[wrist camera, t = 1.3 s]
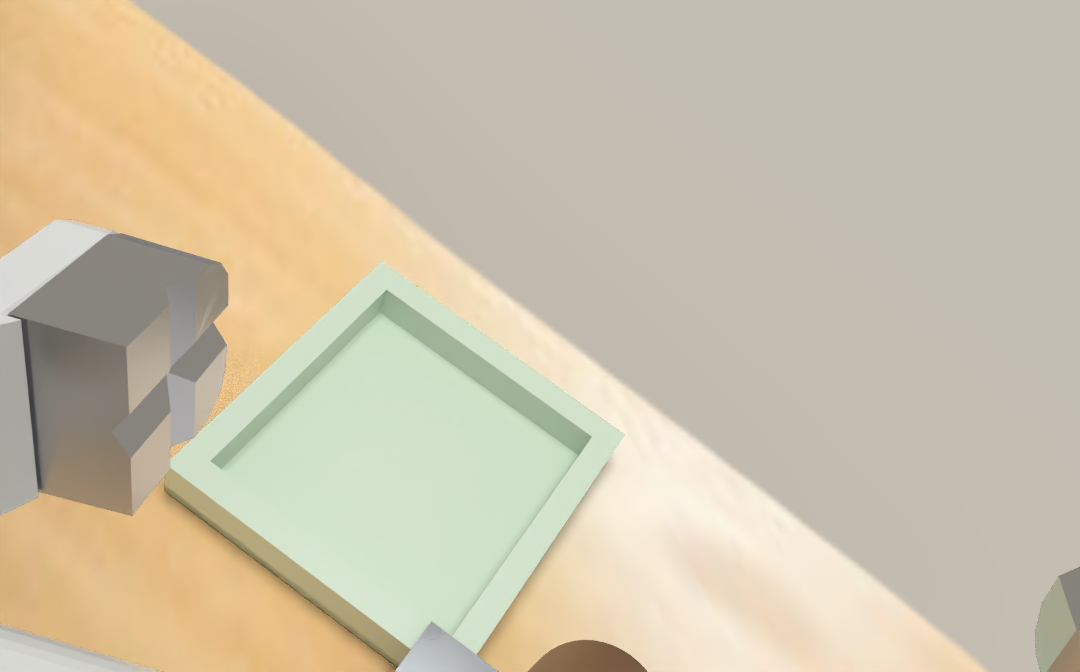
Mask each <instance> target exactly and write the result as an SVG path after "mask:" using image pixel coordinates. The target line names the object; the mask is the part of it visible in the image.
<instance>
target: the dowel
mask: <svg viewBox="0 0 1080 672" xmlns="http://www.w3.org/2000/svg"><path fill="white" fill-rule="evenodd" d="M528 672H647V671H646V669H645V668H644V667H643V666H642V665H641V664H640V663H639V662H638V661H637V660H636V659H634V658H633V657H632V656H631V655H629V654H628V653H626V652H625V651H623V650H621V649H619V648H617V647H615V646H613V645H610V644H607V643H604V642H599V641H593V640H579V641H573V642H568V643H565V644H562V645H560V646H558V647H556V648H554V649H552V650H550V651H549V652H548V653H547V654H545V655H544V656H543V657H542V658H541V659H540V660H539V661H538V662H537V663H536V664H535V665H534V666H533V667H532V668H531V669H530V670H529V671H528Z"/></svg>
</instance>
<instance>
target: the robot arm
mask: <svg viewBox="0 0 1080 672" xmlns="http://www.w3.org/2000/svg"><path fill="white" fill-rule="evenodd" d="M227 306H228V273H227V272H226V270H225V269H224V267H223V266H222V264H221V263H220V262H216V261H213V260H210V259H206V258H203V257H200V256H196V255H193V254H189V253H186V252H183V251H179V250H176V249H173V248H169V247H166V246H162V245H159V244H156V243H152V242H149V241H146V240H142V239H139V238H135V237H132V236H129V235H125V234H122V233H121V234H118V233H116V232H115V231H113V230H109V229H105V228H101V227H98V226H94V225H90V224H86V223H82V222H79V221H75V220H71V219H56V220H54V221H53V222H51V223H50V224H48V225H47V226H46V227H44V228H43V229H41V230H40V231H39V232H37V233H36V234H34V235H33V236H32V237H30V238H29V239H27V240H26V241H24V242H23V243H22V244H20V245H19V246H17V247H16V248H15V249H13V250H12V251H10V252H9V253H8V254H6V255H5V256H3V257H2V258H1V259H0V515H2V514H4V513H6V512H8V511H11V510H13V509H15V508H17V507H19V506H21V505H23V504H25V503H27V502H29V501H31V500H33V499H35V498H37V497H38V496H39V492H41V493H45V494H49V495H53V496H57V497H61V498H65V499H69V500H72V501H76V502H80V503H84V504H88V505H92V506H96V507H99V508H103V509H107V510H111V511H115V512H119V513H123V514H126V515H130V516H133V514H134V513H135V512H136V511H137V509H138V508H139V507H140V506H141V504H142V503H143V502H144V501H145V499H146V498H147V497H148V496H149V494H150V493H151V492H152V490H153V489H154V488H155V487H156V485H157V484H158V483H159V482H160V480H161V479H162V478H163V477H164V475H165V474H166V473H167V472H168V470H169V469H170V446H173V445H176V444H178V443H181V442H184V441H186V440H189V439H192V438H194V437H195V436H196V434H197V433H198V432H199V430H200V429H201V428H202V426H203V425H204V424H205V422H206V421H207V420H208V418H209V416H210V414H211V412H212V409H213V407H214V405H215V403H216V400H217V398H218V396H219V393H220V391H221V387H222V382H223V378H224V373H225V368H226V352H227V344H226V343H225V341H224V339H223V338H222V336H221V335H220V333H219V331H218V330H217V328H216V327H215V325H214V323H213V322H214V320H215V319H216V318H217V317H218V316H219V315H220V314H221V313H222V311H223V310H224V309H225V308H226V307H227ZM1035 648H1036V657H1037V661H1038V665H1039V669H1040V672H1080V567H1078V568H1076V569H1074V570H1072V571H1069V572H1067V573H1065V574H1062V575H1060V576H1058V578H1057V580H1056V581H1055V583H1054V584H1053V586H1052V588H1051V589H1050V591H1049V592H1048V594H1047V596H1046V597H1045V599H1044V600H1043V602H1042V605H1041V609H1040V613H1039V617H1038V621H1037V625H1036V629H1035ZM0 672H162V671H159V670H156V669H152V668H149V667H145V666H142V665H139V664H135V663H132V662H129V661H125V660H122V659H118V658H115V657H112V656H108V655H105V654H102V653H98V652H95V651H91V650H88V649H85V648H81V647H78V646H74V645H71V644H68V643H64V642H61V641H58V640H54V639H51V638H47V637H44V636H41V635H37V634H34V633H31V632H27V631H24V630H20V629H17V628H14V627H10V626H7V625H3V624H0Z"/></svg>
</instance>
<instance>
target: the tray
mask: <svg viewBox="0 0 1080 672" xmlns="http://www.w3.org/2000/svg"><path fill="white" fill-rule="evenodd" d="M624 435H625V434H623V433H622V432H620V431H619V430H618V429H616V428H615V427H613V426H612V425H611V424H609V423H608V422H606V421H605V420H604V419H602V418H601V417H599V416H598V415H597V414H595V413H594V412H592V411H591V410H590V409H588V408H587V407H585V406H584V405H583V404H581V403H580V402H578V401H577V400H576V399H574V398H573V397H571V396H570V395H569V394H567V393H566V392H564V391H563V390H562V389H560V388H559V387H557V386H556V385H555V384H553V383H552V382H550V381H549V380H548V379H546V378H545V377H543V376H542V375H541V374H539V373H538V372H536V371H535V370H534V369H532V368H531V367H529V366H528V365H526V364H525V363H524V362H522V361H521V360H519V359H518V358H517V357H515V356H514V355H512V354H511V353H510V352H508V351H507V350H505V349H504V348H503V347H501V346H500V345H498V344H497V343H496V342H494V341H493V340H491V339H490V338H489V337H487V336H486V335H484V334H483V333H482V332H480V331H479V330H477V329H476V328H475V327H473V326H472V325H470V324H469V323H468V322H466V321H465V320H463V319H462V318H461V317H459V316H458V315H456V314H455V313H454V312H452V311H451V310H449V309H448V308H447V307H445V306H444V305H442V304H441V303H440V302H438V301H437V300H435V299H434V298H433V297H431V296H430V295H428V294H427V293H426V292H424V291H423V290H421V289H420V288H419V287H417V286H416V285H414V284H413V283H412V282H410V281H409V280H407V279H406V278H405V277H403V276H402V275H400V274H399V273H398V272H396V271H395V270H393V269H392V268H391V267H389V266H388V265H386V264H385V263H384V262H382V261H381V262H380V263H379V264H378V265H377V266H376V267H375V268H374V269H373V270H372V271H371V272H370V273H368V274H367V275H366V276H365V277H364V278H363V279H362V280H361V281H360V282H359V283H358V284H357V285H356V286H355V287H354V288H352V289H351V290H350V291H349V292H348V293H347V294H346V295H345V296H344V297H343V298H342V299H341V300H340V301H339V302H338V303H336V304H335V305H334V306H333V307H332V308H331V309H330V310H329V311H328V312H327V313H326V314H325V315H324V316H323V317H322V318H320V319H319V320H318V321H317V322H316V323H315V324H314V325H313V326H312V327H311V328H310V329H309V330H308V331H307V332H306V333H305V334H303V335H302V336H301V337H300V338H299V339H298V340H297V341H296V342H295V343H294V344H293V345H292V346H291V347H290V348H289V349H287V350H286V351H285V352H284V353H283V354H282V355H281V356H280V357H279V358H278V359H277V360H276V361H275V362H274V363H273V364H271V365H270V366H269V367H268V368H267V369H266V370H265V371H264V372H263V373H262V374H261V375H260V376H259V377H258V378H257V379H255V380H254V381H253V382H252V383H251V384H250V385H249V386H248V387H247V388H246V389H245V390H244V391H243V392H242V393H241V394H240V395H238V396H237V397H236V398H235V399H234V400H233V401H232V402H231V403H230V404H229V405H228V406H227V407H226V408H225V409H224V410H222V411H221V412H220V413H219V414H218V415H217V416H216V417H215V418H214V419H213V420H212V421H211V422H210V423H209V424H208V425H206V426H205V427H204V428H203V429H202V430H201V431H200V432H199V433H198V434H197V435H196V436H195V437H194V438H193V439H192V440H190V441H189V442H188V443H187V444H186V445H185V446H184V447H183V448H182V449H181V450H180V451H179V452H178V453H177V454H176V455H175V456H173V457H172V458H171V459H170V469H169V470H168V472H167V473H166V474H165V492H167V493H168V494H169V495H171V496H172V497H173V498H175V499H176V500H177V501H179V502H180V503H181V504H183V505H184V506H185V507H187V508H188V509H189V510H191V511H192V512H193V513H194V514H196V515H197V516H198V517H200V518H201V519H202V520H204V521H205V522H206V523H208V524H209V525H210V526H212V527H213V528H214V529H216V530H217V531H218V532H219V533H221V534H222V535H223V536H225V537H226V538H227V539H229V540H230V541H231V542H233V543H234V544H235V545H237V546H238V547H239V548H241V549H242V550H243V551H245V552H246V553H247V554H248V555H250V556H251V557H252V558H254V559H255V560H256V561H258V562H259V563H260V564H262V565H263V566H264V567H266V568H267V569H268V570H270V571H271V572H272V573H274V574H275V575H276V576H277V577H279V578H280V579H281V580H283V581H284V582H285V583H287V584H288V585H289V586H291V587H292V588H293V589H295V590H296V591H297V592H299V593H300V594H301V595H303V596H304V597H305V598H306V599H308V600H309V601H310V602H312V603H313V604H314V605H316V606H317V607H318V608H320V609H321V610H322V611H324V612H325V613H326V614H328V615H329V616H330V617H332V618H333V619H334V620H335V621H337V622H338V623H339V624H341V625H342V626H343V627H345V628H346V629H347V630H349V631H350V632H351V633H353V634H354V635H355V636H357V637H358V638H359V639H361V640H362V641H363V642H364V643H366V644H367V645H368V646H370V647H371V648H372V649H374V650H375V651H376V652H378V653H379V654H380V655H382V656H383V657H384V658H386V659H387V660H388V661H389V662H391V663H392V664H393V665H395V666H396V667H397V668H398V666H399V665H400V664H401V662H402V661H403V660H404V658H405V657H406V655H407V654H408V653H409V651H410V650H411V649H412V647H413V646H414V644H415V643H416V642H417V640H418V639H419V638H420V636H421V635H422V633H423V632H424V631H425V629H426V628H427V627H428V625H429V624H430V622H431V621H432V622H433V623H435V624H436V625H437V626H439V627H440V628H441V629H443V630H444V631H445V632H447V633H448V634H449V635H451V636H452V637H453V638H455V639H456V640H457V641H459V642H460V643H461V644H463V645H464V646H465V647H467V648H468V649H469V650H471V651H472V652H473V653H475V654H476V655H477V654H478V652H479V651H480V649H481V648H482V646H483V645H484V643H485V642H486V640H487V639H488V637H489V636H490V634H491V633H492V631H493V630H494V628H495V627H496V625H497V624H498V622H499V621H500V619H501V618H502V616H503V615H504V613H505V612H506V610H507V609H508V607H509V606H510V604H511V603H512V602H513V600H514V599H515V597H516V596H517V594H518V593H519V591H520V590H521V588H522V587H523V585H524V584H525V582H526V581H527V579H528V578H529V576H530V575H531V573H532V572H533V570H534V569H535V567H536V566H537V564H538V563H539V561H540V560H541V558H542V557H543V555H544V554H545V552H546V551H547V550H548V548H549V547H550V545H551V544H552V542H553V541H554V539H555V538H556V536H557V535H558V533H559V532H560V530H561V529H562V527H563V526H564V524H565V523H566V521H567V520H568V518H569V517H570V515H571V514H572V512H573V511H574V509H575V508H576V506H577V505H578V503H579V502H580V500H581V499H582V498H583V496H584V495H585V493H586V492H587V490H588V489H589V487H590V486H591V484H592V483H593V481H594V480H595V478H596V477H597V475H598V474H599V472H600V471H601V469H602V468H603V466H604V465H605V463H606V462H607V460H608V459H609V457H610V456H611V454H612V453H613V451H614V450H615V448H616V447H617V446H618V444H619V443H620V441H621V440H622V438H623V437H624Z"/></svg>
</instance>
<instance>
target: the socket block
mask: <svg viewBox="0 0 1080 672" xmlns="http://www.w3.org/2000/svg"><path fill="white" fill-rule="evenodd" d="M395 672H499V671H497V670H496V669H495V668H493V667H492V666H491V665H489V664H488V663H487V662H485V661H484V660H483V659H481V658H480V657H479V656H477V655H476V654H475V653H473V652H472V651H471V650H469V649H468V648H467V647H465V646H464V645H463V644H461V643H460V642H459V641H457V640H456V639H455V638H453V637H452V636H451V635H449V634H448V633H447V632H445V631H444V630H443V629H441V628H440V627H439V626H437V625H436V624H435V623H433V622H432V621H431V622H430V624H429V625H428V627H427V628H426V629H425V631H424V632H423V633H422V635H421V636H420V638H419V639H418V640H417V642H416V643H415V644H414V646H413V647H412V649H411V650H410V651H409V653H408V654H407V655H406V657H405V658H404V660H403V661H402V662H401V664H400V665H399V666H398V668H397V669H396V671H395Z"/></svg>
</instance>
